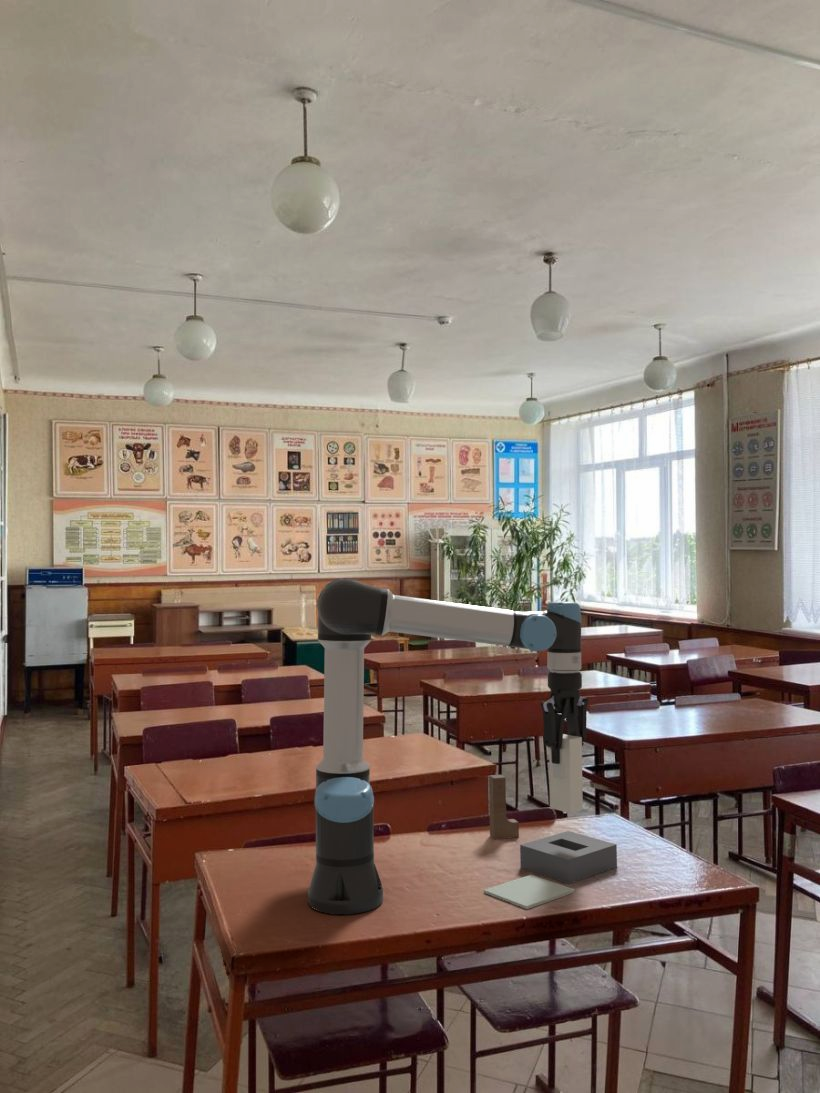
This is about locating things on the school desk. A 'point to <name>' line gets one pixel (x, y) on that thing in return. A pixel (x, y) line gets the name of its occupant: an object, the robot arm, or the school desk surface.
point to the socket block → (568, 856)
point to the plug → (568, 777)
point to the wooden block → (500, 810)
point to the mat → (529, 891)
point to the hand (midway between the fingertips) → (565, 776)
